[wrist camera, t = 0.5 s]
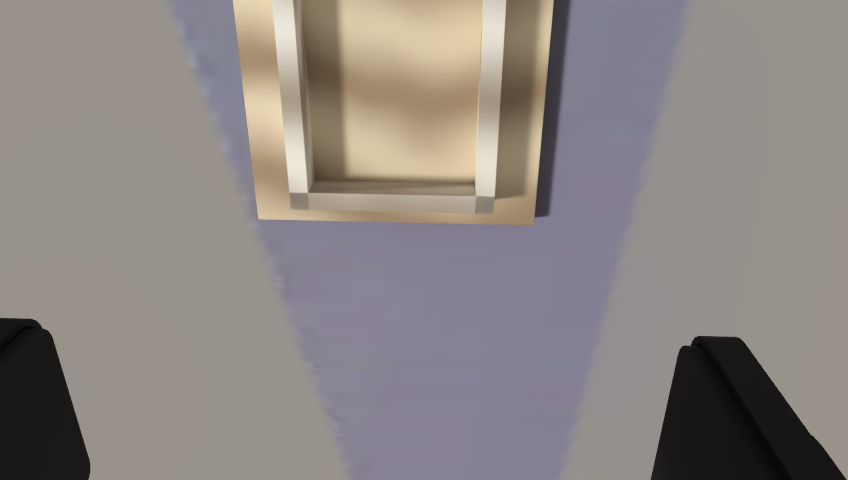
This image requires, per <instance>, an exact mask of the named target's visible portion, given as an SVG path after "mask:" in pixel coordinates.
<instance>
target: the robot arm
mask: <svg viewBox="0 0 848 480" xmlns="http://www.w3.org/2000/svg"><path fill="white" fill-rule="evenodd" d="M89 475H90V461H89V457H88V454H87V451H86V448H85V444H84V441H83V437H82V434H81V431H80V427H79V424H78V421H77V417H76V414H75V411H74V407H73V404H72V401H71V397H70V394H69V391H68V387H67V384H66V381H65V377H64V374H63V371H62V367H61V364H60V361H59V358H58V354H57V351H56V348H55V344H54V341H53V338H52V336H51V334H50V333H49V331H47V330H45V329H42V327H41V325H40V324H39V323H38V322H37V321H36V320H33V319H16V318H14V319H12V318H0V480H88V479H89ZM651 480H846V478H845V477H844V476H843V474H842V473H841V472H840V470H839V469H838V467H837V466H836V465H835V463H834V462H833V460H832V459H831V458H830V457H829V455H828V454H827V452H826V451H825V450H824V448H823V447H822V445H821V444H820V443H819V442H818V441H817V440H816V439H815V438H814V437H813V436H812V435H810V433H809V432H808V430H807V429H806V428H805V426H804V425H803V423H802V422H801V421H800V419H799V418H798V417H797V415H796V414H795V412H794V411H793V410H792V408H791V407H790V405H789V404H788V403H787V401H786V400H785V399H784V397H783V396H782V394H781V393H780V391H779V390H778V389H777V387H776V386H775V385H774V383H773V382H772V380H771V379H770V378H769V376H768V375H767V373H766V372H765V371H764V369H763V368H762V366H761V365H760V364H759V362H758V361H757V359H756V358H755V357H754V355H753V354H752V353H751V351H750V350H749V348H748V347H747V346H746V344H745V343H744V342H743V341H742V340H741V339H740V338H738V337H715V336H698V337H695V338H694V340H693V341H692V344H691V346H683V347H681V349H680V351H679V354H678V357H677V362H676V367H675V371H674V376H673V380H672V385H671V389H670V394H669V399H668V403H667V408H666V413H665V417H664V421H663V426H662V431H661V435H660V440H659V444H658V449H657V453H656V458H655V463H654V467H653V472H652V476H651Z"/></svg>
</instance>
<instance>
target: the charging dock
mask: <svg viewBox="0 0 848 480" xmlns="http://www.w3.org/2000/svg"><path fill="white" fill-rule="evenodd" d="M553 4H554V0H233V5H234V13H235V22H236V30H237V39H238V48H239V56H240V65H241V73H242V82H243V91H244V99H245V108H246V116H247V125H248V134H249V142H250V151H251V159H252V168H253V177H254V185H255V194H256V202H257V211H258V219H275V220H321V221H367V222H413V223H459V224H505V225H534V216H535V204H536V193H537V182H538V171H539V160H540V149H541V137H542V126H543V115H544V104H545V93H546V82H547V71H548V59H549V48H550V37H551V26H552V15H553Z"/></svg>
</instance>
